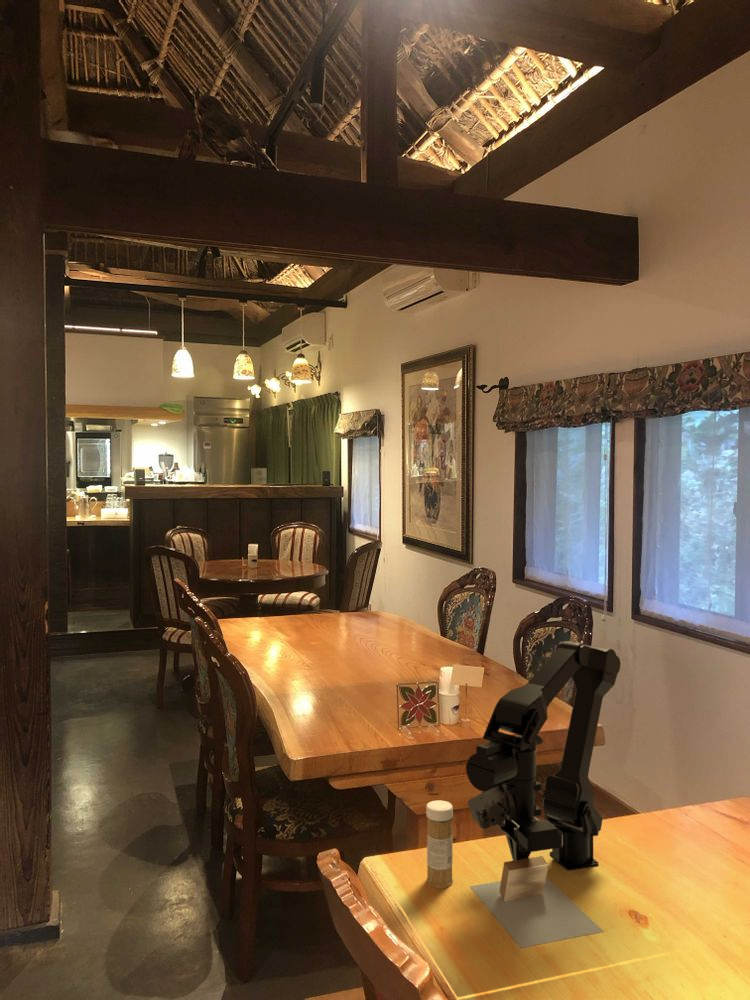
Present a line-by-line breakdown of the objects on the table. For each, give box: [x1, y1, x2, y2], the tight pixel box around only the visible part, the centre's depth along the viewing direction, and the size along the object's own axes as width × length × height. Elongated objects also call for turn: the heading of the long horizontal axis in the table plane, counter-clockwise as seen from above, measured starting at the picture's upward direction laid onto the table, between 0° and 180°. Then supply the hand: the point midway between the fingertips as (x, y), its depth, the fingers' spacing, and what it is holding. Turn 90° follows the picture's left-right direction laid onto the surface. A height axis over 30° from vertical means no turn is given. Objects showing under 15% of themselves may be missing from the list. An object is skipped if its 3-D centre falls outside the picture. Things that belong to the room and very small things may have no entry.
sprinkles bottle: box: [425, 799, 454, 889], centre depth 125 cm, size 5×5×14 cm
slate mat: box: [469, 876, 605, 949], centre depth 117 cm, size 14×18×1 cm
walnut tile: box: [499, 855, 549, 901], centre depth 120 cm, size 7×2×6 cm, turn 107°
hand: (518, 868), depth 122 cm, fingers closed
